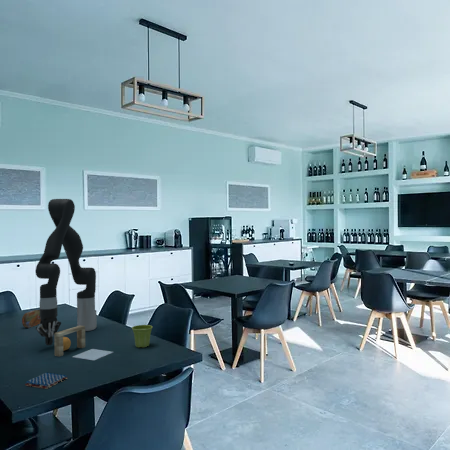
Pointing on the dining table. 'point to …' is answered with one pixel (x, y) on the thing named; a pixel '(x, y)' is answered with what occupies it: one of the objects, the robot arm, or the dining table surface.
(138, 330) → the plant pot
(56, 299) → the robot arm
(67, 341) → the ball
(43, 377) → the woven mat
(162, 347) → the dining table surface
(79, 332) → the bridge
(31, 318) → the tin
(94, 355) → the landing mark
